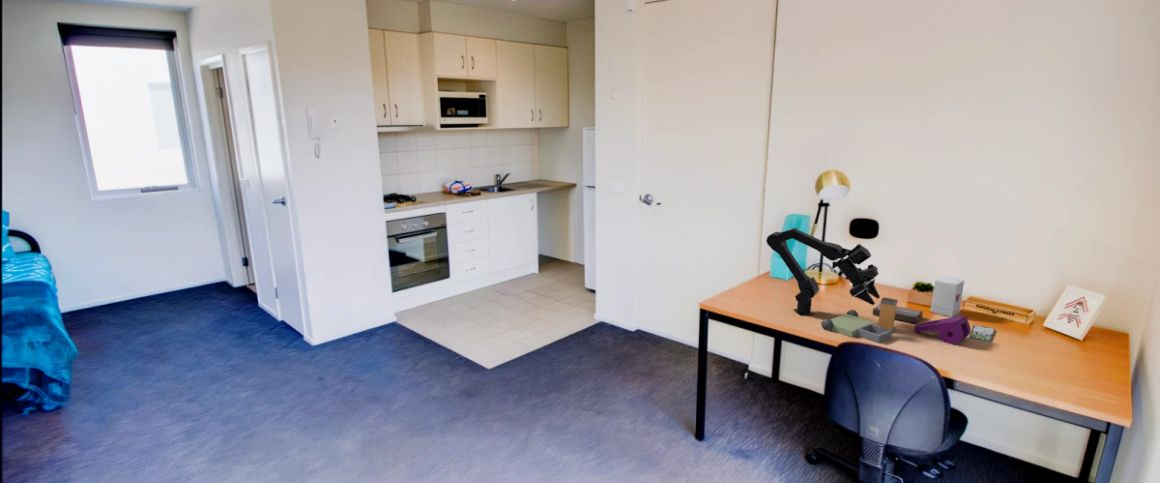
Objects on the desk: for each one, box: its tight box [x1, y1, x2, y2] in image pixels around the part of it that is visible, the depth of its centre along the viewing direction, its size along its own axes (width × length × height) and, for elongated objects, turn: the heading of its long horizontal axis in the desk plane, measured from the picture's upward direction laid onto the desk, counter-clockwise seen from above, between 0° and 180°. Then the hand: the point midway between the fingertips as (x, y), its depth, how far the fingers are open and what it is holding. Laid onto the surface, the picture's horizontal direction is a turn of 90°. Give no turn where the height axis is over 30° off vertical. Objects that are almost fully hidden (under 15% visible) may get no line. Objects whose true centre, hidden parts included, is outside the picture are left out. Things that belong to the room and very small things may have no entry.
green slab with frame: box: [820, 309, 893, 344], centre depth 247 cm, size 22×19×4 cm
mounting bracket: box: [913, 315, 972, 345], centre depth 242 cm, size 9×8×18 cm
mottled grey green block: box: [968, 324, 996, 343], centre depth 244 cm, size 7×1×15 cm
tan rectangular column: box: [877, 297, 899, 334], centre depth 248 cm, size 6×6×12 cm
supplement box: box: [930, 275, 965, 318], centre depth 266 cm, size 9×9×15 cm
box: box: [872, 303, 923, 324], centre depth 263 cm, size 11×17×3 cm, turn 48°
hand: (876, 301), depth 249 cm, fingers open, 9 cm apart
